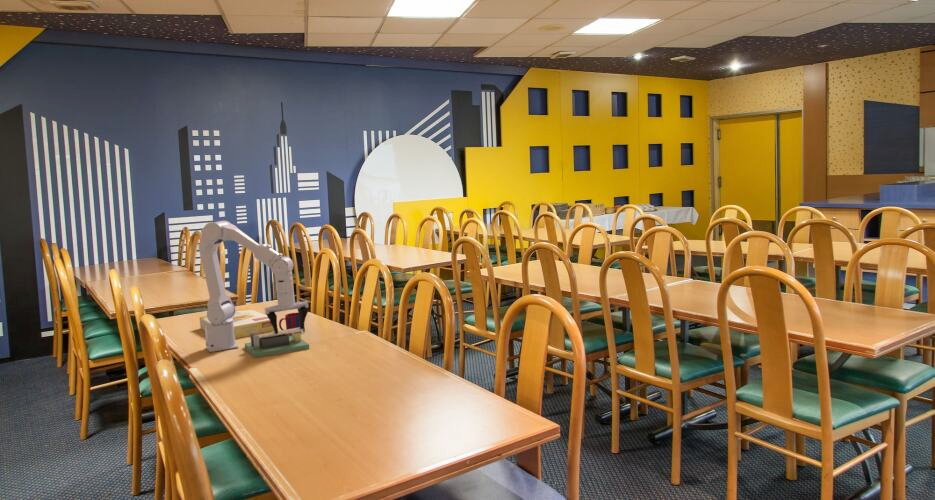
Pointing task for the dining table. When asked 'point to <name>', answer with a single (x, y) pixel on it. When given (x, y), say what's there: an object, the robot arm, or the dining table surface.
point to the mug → (291, 321)
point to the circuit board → (277, 348)
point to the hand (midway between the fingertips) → (289, 330)
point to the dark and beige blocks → (273, 340)
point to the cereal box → (245, 323)
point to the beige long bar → (281, 332)
